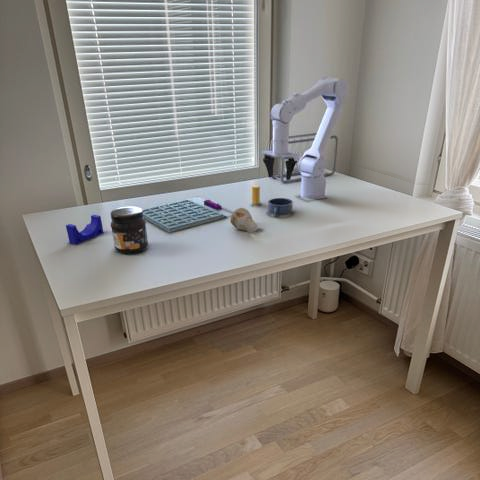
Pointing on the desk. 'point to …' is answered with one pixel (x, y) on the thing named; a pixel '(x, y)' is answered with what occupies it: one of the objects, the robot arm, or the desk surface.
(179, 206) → the calendar
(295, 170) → the newton's cradle
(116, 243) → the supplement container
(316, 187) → the robot arm
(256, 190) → the peg
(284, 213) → the cup
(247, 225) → the rock
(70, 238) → the cable clip
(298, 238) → the desk surface
